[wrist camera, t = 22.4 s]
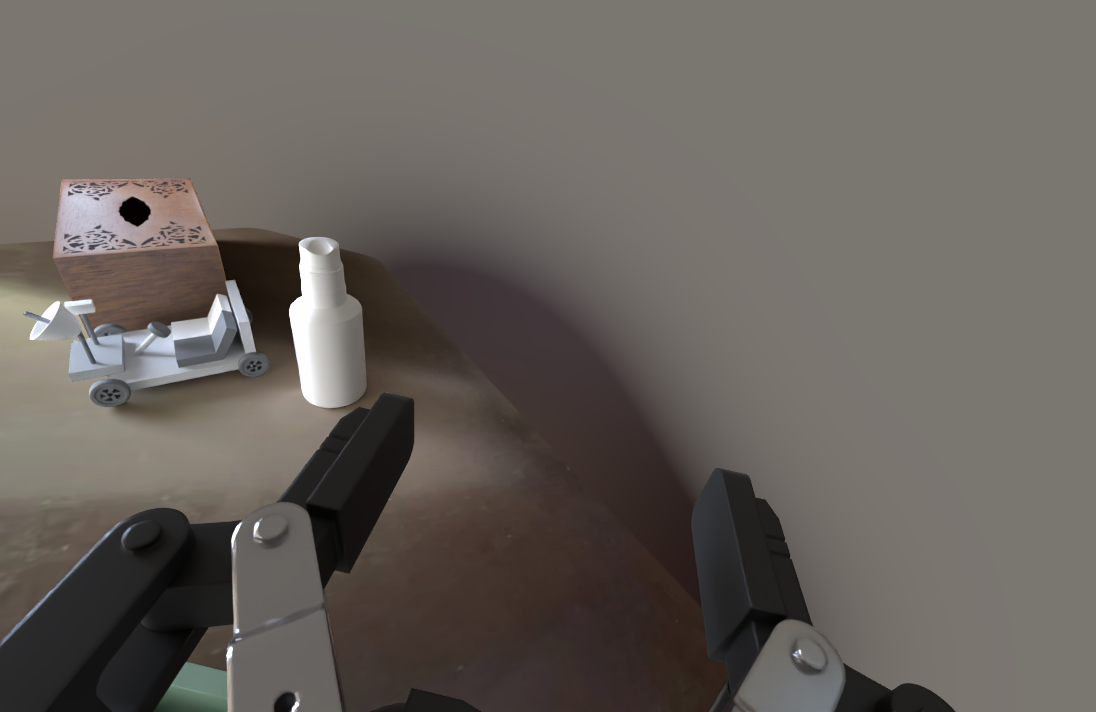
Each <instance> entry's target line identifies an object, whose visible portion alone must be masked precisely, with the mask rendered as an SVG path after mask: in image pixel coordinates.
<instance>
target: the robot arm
mask: <svg viewBox="0 0 1096 712" xmlns="http://www.w3.org/2000/svg"><path fill="white" fill-rule="evenodd" d="M413 445H414V400H413V399H412V398H408V397H404V396H400V395H395V394H391V393H386V392H385V393H383V394H382V395H381V396H380V397H379V398H378V400H377V401H376V403H375V404H374V406H373V407H372V408H371V410H370V409H365V408H361V407H358V408H357V409H355V410H354V411H352V412H351V413H349V414H348V415H346V416H344V417H343V418H341V419H340V421H339V422H338V423H337V425H336V426H335V427H334V429H333V430H332V431H331V433H330V434H329V437H327V438H326V439H325V440H324V442H323V443H322V444H321V446H320V449H319V450H317V451H316V452H315V453H314V455H313V456H312V457H311V459H310V460H309V461H308V463H307V464H306V465H305V467H304V468H303V469H302V470H301V472H300V473H299V474H298V476H297V477H296V478H295V480H294V481H293V482H292V483H291V485H290V486H289V487H288V489H287V490H286V491H285V493H284V494H283V495H282V496H281V498H280V499H279V500H278V501H277V502H276V503H273V504H269V505H266V506H263V507H261V508H258V509H256V510H255V511H253V512H251V513H250V514H249V515H247V516H246V517H245V518H244V519H243V520H239V521H232V522H219V523H204V524H190V523H189V521H188V519H187V517H186V516H185V515H184V514H183V513H182V512H180V511H178V510H175V509H171V508H156V509H150V510H147V511H143V512H140V513H137V514H135V515H133V516H131V517H128V518H127V519H125V520H123V521H122V522H120V523H119V524H117V525H116V526H114V527H113V528H112V529H111V530H110V531H109V532H108V533H107V534H106V535H105V536H104V537H103V538H102V539H101V540H100V541H99V542H98V543H97V544H96V545H95V546H94V547H93V548H92V549H91V550H90V551H89V552H88V553H87V554H86V555H85V556H84V557H83V558H82V559H81V560H80V561H79V562H78V563H77V564H76V565H75V566H74V567H73V568H72V569H71V570H70V571H69V572H68V573H67V574H66V575H65V576H64V577H63V579H62V580H61V581H60V582H59V583H58V584H57V585H56V586H55V587H54V588H53V589H52V590H51V591H50V592H49V593H48V594H47V595H46V596H45V597H44V598H43V599H42V600H41V601H40V602H39V603H38V604H37V605H36V606H35V607H34V608H33V609H32V610H31V611H30V612H29V613H28V614H27V615H26V616H25V617H24V618H23V619H22V620H21V621H20V622H19V623H18V624H17V625H16V626H15V627H14V628H13V629H12V630H11V631H10V633H9V634H8V635H7V636H6V637H5V638H4V639H3V640H2V641H1V642H0V712H154V710H155V709H156V707H157V705H158V704H159V702H160V701H161V699H162V698H163V696H164V695H165V693H166V692H167V690H168V689H169V687H170V686H171V684H172V683H173V681H174V679H175V678H176V676H177V675H178V673H179V672H180V670H181V669H182V667H183V666H184V664H185V663H186V661H187V660H188V658H189V657H190V655H191V653H192V652H193V650H194V649H195V647H196V646H197V644H198V643H199V641H200V640H201V638H202V637H203V635H204V634H205V632H206V631H207V629H208V627H212V626H220V625H229V624H234V637H233V640H232V641H230V642H229V645H228V651H227V692H228V712H347V711H346V705H345V700H344V694H343V689H342V683H341V678H340V673H339V667H338V662H337V656H336V650H335V645H334V639H333V633H332V627H331V622H330V616H329V610H328V604H327V599H326V593H325V586H326V585H327V583H328V581H329V579H330V578H331V576H332V574H333V572H334V570H336V571H340V572H345V573H350V571H351V569H352V567H353V566H354V564H355V562H356V560H357V558H358V556H359V554H360V552H361V550H362V548H363V547H364V545H365V543H366V541H367V539H368V537H369V535H370V533H371V531H372V530H373V528H374V526H375V524H376V522H377V520H378V518H379V516H380V514H381V512H382V511H383V509H384V507H385V505H386V503H387V501H388V499H389V497H390V495H391V493H392V492H393V490H394V488H395V486H396V484H397V482H398V480H399V478H400V476H401V474H402V473H403V471H404V469H405V467H406V465H407V463H408V461H409V459H410V456H411V453H412V449H413ZM691 525H692V535H693V542H694V550H695V558H696V565H697V574H698V581H699V589H700V597H701V604H702V612H703V620H704V628H705V635H706V643H707V651H708V659H709V660H712V661H716V662H720V663H725V664H726V668H727V674H728V678H727V680H726V681H725V682H724V683H723V685H722V687H721V688H720V690H719V692H718V693H717V695H716V696H715V698H714V700H713V701H712V703H711V705H710V706H709V708H708V709H707V711H706V712H955V711H954V710H953V709H952V707H951V706H949V705H948V704H947V703H946V702H945V701H944V700H943V699H942V698H940V697H939V696H938V695H936V694H935V693H933V692H932V691H930V690H928V689H926V688H924V687H922V686H919V685H916V684H911V683H910V684H909V683H906V684H902V685H900V686H898V687H897V688H895V689H894V690H892V691H891V690H890V689H888V688H886V687H884V686H882V685H881V684H878V683H877V682H875V681H873V680H871V679H870V678H868V677H866V676H865V675H863V674H861V673H859V672H857V671H856V670H854V669H852V668H850V667H849V666H847V665H846V664H844V663H843V662H842V660H841V658H840V656H839V654H838V652H837V650H836V649H835V648H834V646H833V645H832V643H831V642H830V641H829V640H828V639H827V638H826V637H825V636H824V635H823V634H822V633H820V631H818V630H817V629H815V628H814V627H813V625H812V622H811V619H810V616H809V613H808V610H807V607H806V603H805V600H804V597H803V594H802V591H801V588H800V584H799V581H798V578H797V575H796V572H795V569H794V566H793V562H792V560H791V559H790V553H789V549H788V546H787V543H785V537H784V534H783V530H782V527H781V524H780V521H779V518H778V517H777V516H776V514H775V513H774V511H773V510H772V509H771V507H770V506H769V504H768V503H767V502H766V500H764V499H760V498H755V495H754V491H753V487H752V484H751V480H750V478H749V476H748V475H746V474H742V473H738V472H733V471H729V470H725V469H720V468H716V469H715V470H714V471H713V472H712V474H711V476H710V478H709V480H708V482H707V483H706V485H705V487H704V489H703V491H702V493H701V494H700V496H699V498H698V500H697V502H696V504H695V506H694V509H693V513H692V523H691ZM370 712H481V711H479V710H478V709H476V708H474V707H473V706H471V705H469V704H468V703H466V702H465V701H463V700H460V699H455V698H451V697H447V696H443V695H439V694H435V693H430V692H426V691H422V690H418V689H414V688H411V691H410V694H409V697H408V700H407V702H406V703H397V704H392V705H388V706H384V707H381V708H378V709H376V710H373V711H370Z"/></svg>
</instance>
